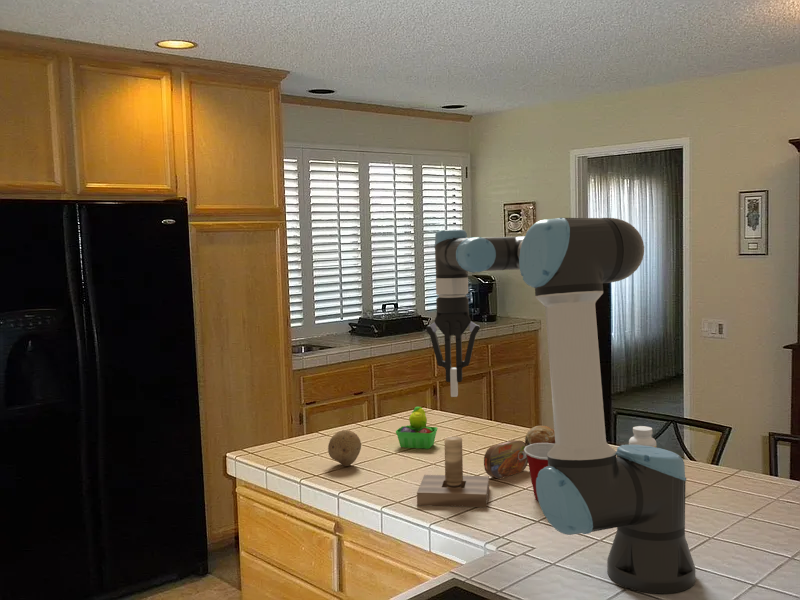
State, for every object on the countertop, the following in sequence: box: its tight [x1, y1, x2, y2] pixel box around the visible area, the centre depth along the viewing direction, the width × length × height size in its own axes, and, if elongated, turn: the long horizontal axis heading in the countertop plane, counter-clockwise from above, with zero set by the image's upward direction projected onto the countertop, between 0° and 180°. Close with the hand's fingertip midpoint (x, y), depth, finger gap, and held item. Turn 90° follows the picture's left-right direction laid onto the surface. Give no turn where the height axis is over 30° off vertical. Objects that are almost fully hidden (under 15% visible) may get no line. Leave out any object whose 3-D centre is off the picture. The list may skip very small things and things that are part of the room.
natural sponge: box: [327, 429, 362, 467], centre depth 216 cm, size 9×9×10 cm
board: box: [416, 474, 490, 508], centre depth 188 cm, size 14×16×3 cm
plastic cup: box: [524, 443, 555, 501], centre depth 185 cm, size 11×11×12 cm
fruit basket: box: [395, 406, 438, 450], centre depth 236 cm, size 11×9×11 cm
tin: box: [483, 439, 529, 480], centre depth 205 cm, size 15×3×8 cm, turn 129°
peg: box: [444, 436, 464, 488], centre depth 188 cm, size 4×4×14 cm
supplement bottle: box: [628, 425, 657, 448], centre depth 198 cm, size 7×7×13 cm
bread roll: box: [524, 425, 555, 446], centre depth 232 cm, size 10×10×8 cm
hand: (454, 395), depth 186 cm, fingers closed
